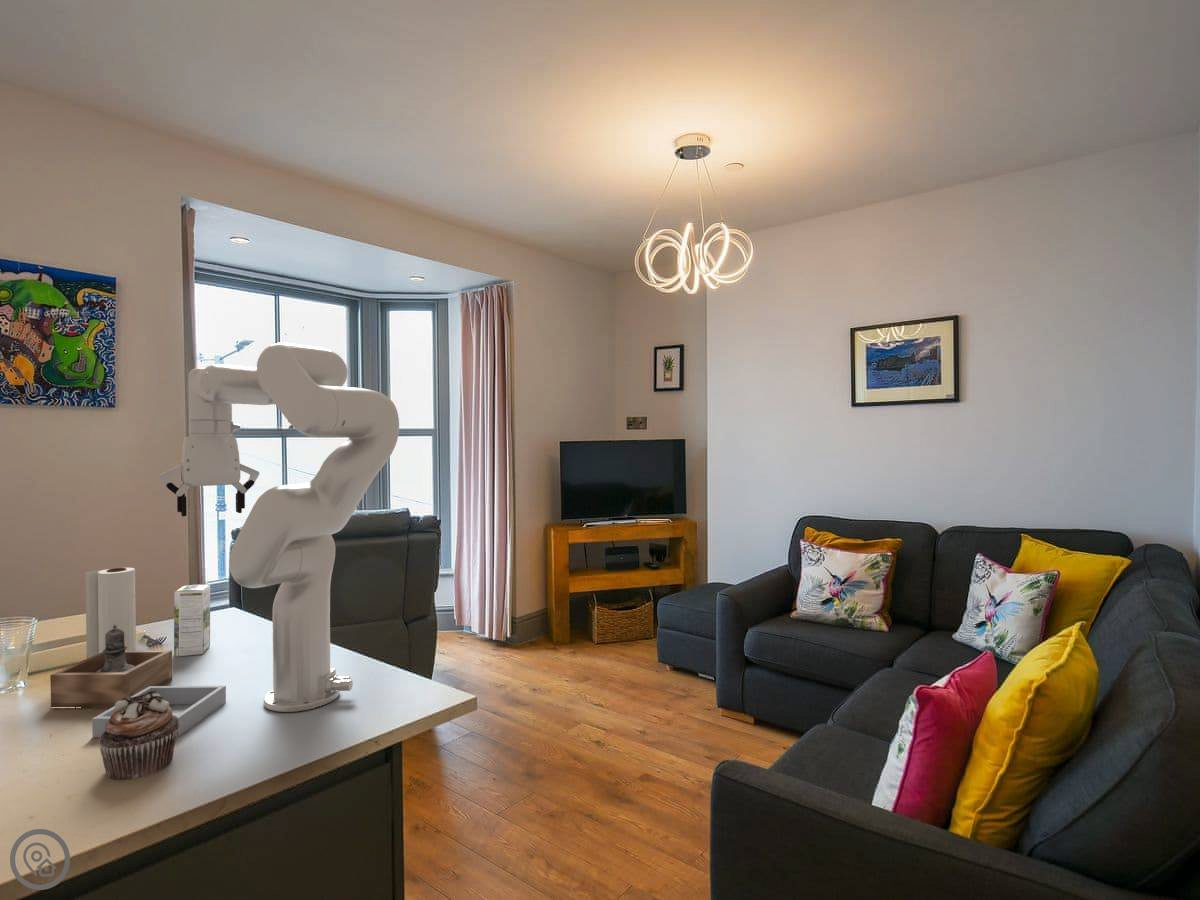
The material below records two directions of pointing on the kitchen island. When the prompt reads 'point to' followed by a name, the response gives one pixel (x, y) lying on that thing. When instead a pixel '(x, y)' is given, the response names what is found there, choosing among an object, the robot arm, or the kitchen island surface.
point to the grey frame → (199, 696)
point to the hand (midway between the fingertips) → (211, 514)
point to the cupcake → (139, 737)
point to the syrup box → (191, 620)
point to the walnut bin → (109, 680)
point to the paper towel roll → (110, 607)
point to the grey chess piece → (115, 652)
